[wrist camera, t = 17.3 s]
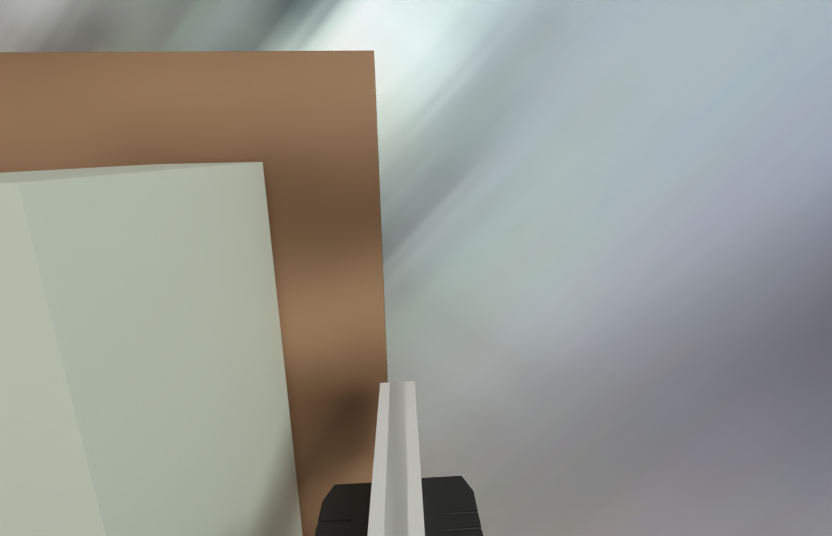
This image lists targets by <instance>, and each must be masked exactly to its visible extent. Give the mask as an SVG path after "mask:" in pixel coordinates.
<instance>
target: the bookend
mask: <svg viewBox="0 0 832 536" xmlns="http://www.w3.org/2000/svg"><path fill="white" fill-rule="evenodd" d="M0 536H303V533H302V524H301V515H300V506H299V496H298V487H297V478H296V468H295V459H294V450H293V440H292V431H291V422H290V412H289V403H288V394H287V385H286V375H285V366H284V357H283V347H282V338H281V329H280V319H279V310H278V301H277V291H276V282H275V273H274V264H273V254H272V245H271V236H270V226H269V217H268V208H267V198H266V189H265V180H264V170H263V162H229V163H184V164H149V165H131V166H113V167H95V168H77V169H59V170H41V171H23V172H5V173H0Z"/></svg>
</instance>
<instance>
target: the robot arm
mask: <svg viewBox="0 0 832 536" xmlns="http://www.w3.org/2000/svg"><path fill="white" fill-rule="evenodd" d="M315 536H483V533H482V530H481V524H480V519H479V515H478V511H477V506H476V501H475V497H474V492H473V490H472V489H471V488H470V486H469V485H468V484H467V482H466V481H465V480H464V479H463V477H462V476H450V477H433V478H421V469H420V454H419V439H418V424H417V409H416V394H415V381H407V382H388V383H380V391H379V403H378V415H377V427H376V439H375V451H374V463H373V475H372V482H371V483H354V484H336V485H334V486H333V487H332V489H331V490H330V491H329V493H328V494H327V496H326V497H325V498H324V500H323V501H322V505H321V509H320V514H319V518H318V525H317V527H316V532H315Z"/></svg>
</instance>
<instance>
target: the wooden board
mask: <svg viewBox="0 0 832 536" xmlns="http://www.w3.org/2000/svg"><path fill="white" fill-rule="evenodd" d="M229 162H263V170H264V180H265V189H266V198H267V208H268V217H269V226H270V236H271V245H272V254H273V264H274V273H275V282H276V291H277V301H278V310H279V319H280V329H281V338H282V347H283V357H284V366H285V375H286V385H287V394H288V403H289V412H290V422H291V431H292V440H293V450H294V459H295V468H296V478H297V487H298V496H299V506H300V515H301V524H302V533H303V536H315V532H316V527H317V525H318V518H319V514H320V509H321V505H322V501H323V500H324V498H325V497H326V496H327V494H328V493H329V491H330V490H331V489H332V487H333V486H334V485H336V484H354V483H371V482H372V475H373V463H374V451H375V439H376V427H377V415H378V403H379V391H380V383H388V380H387V355H386V331H385V307H384V282H383V258H382V234H381V210H380V185H379V161H378V137H377V112H376V88H375V64H374V51H216V52H16V53H0V173H5V172H23V171H41V170H59V169H77V168H95V167H113V166H131V165H149V164H184V163H229Z"/></svg>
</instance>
